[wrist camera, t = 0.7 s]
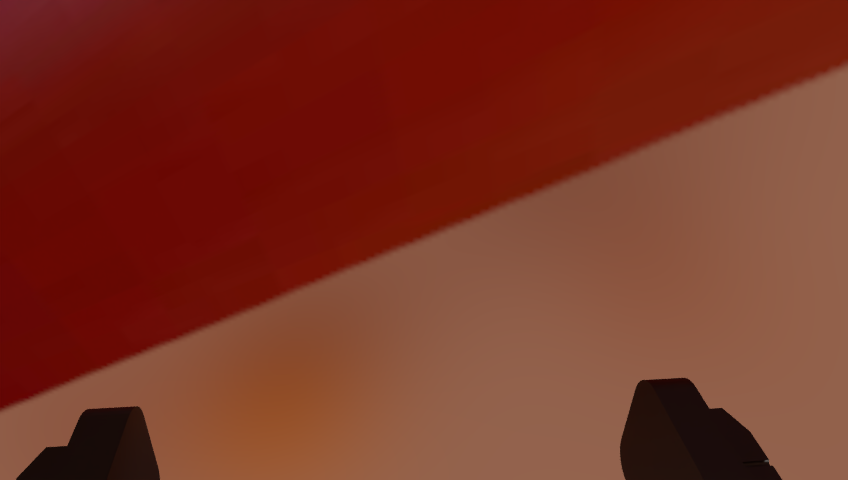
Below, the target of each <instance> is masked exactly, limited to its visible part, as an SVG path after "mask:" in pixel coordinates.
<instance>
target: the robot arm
mask: <svg viewBox="0 0 848 480" xmlns="http://www.w3.org/2000/svg"><path fill="white" fill-rule="evenodd" d="M620 457H621V465H622V469H623V473H624V477H625V479H626V480H782V479H781V477H780V476H779V474H778V473H777V471H776V470H775V468H774V467H773V466H770V465H769V459H768V458H767V456H766V455H765V453H764V452H763V450H762V449H761V447H760V446H759V444H758V443H757V441H756V440H755V439H754V437H753V435H752V434H751V432H750V431H749V430H747V429H746V428H745V427H744V426H742V425H741V424H740V423H739V422H738V421H737V420H736V419H734V418H733V417H732V416H731V415H730V414H728V413H727V412H726V411H725V410H724V409H722V408H715V409H709V408H708V406H707V404H706V403H705V401H704V400H703V398H702V396H701V395H700V393H699V392H698V390H697V388H696V387H695V385H694V384H693V383H692V382H691V381H690V380H689V379H686V378H673V379H656V380H642V381H640V382H639V383H638V385H637V387H636V390H635V393H634V396H633V400H632V403H631V407H630V411H629V414H628V418H627V421H626V425H625V428H624V432H623V435H622V439H621V444H620ZM16 480H160V476H159V469H158V465H157V462H156V458H155V455H154V451H153V447H152V444H151V440H150V436H149V433H148V429H147V426H146V422H145V418H144V415H143V412H142V410H141V409H140V407H138V406H137V407H120V408H119V407H118V408H100V409H87V410H85V411H84V412H83V413H82V415H81V416H80V418H79V420H78V423H77V425H76V427H75V429H74V432H73V434H72V436H71V439H70V441H69V443H68V446H61V447H46V448H45V449H44V450H43V451H42V452H41V453H40V454H39V456H38V457H36V459H35V460H34V461H33V462H32V463H31V464H30V465H29V466H28V467H27V468H26V469H25V470H24V471H23V472H22V473H21V474H20V475H19V476H18V477H17V479H16Z"/></svg>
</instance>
